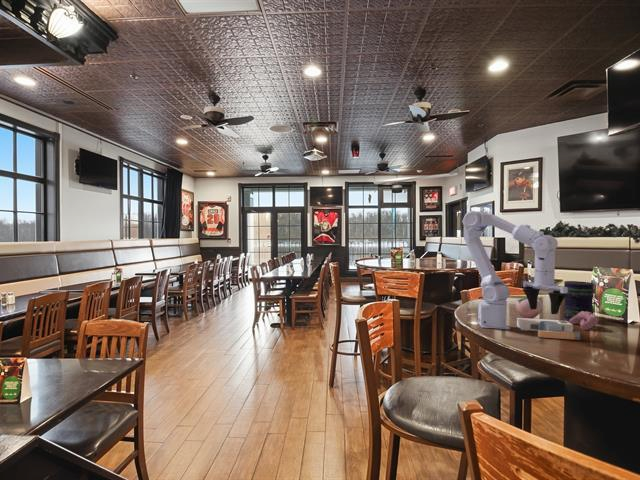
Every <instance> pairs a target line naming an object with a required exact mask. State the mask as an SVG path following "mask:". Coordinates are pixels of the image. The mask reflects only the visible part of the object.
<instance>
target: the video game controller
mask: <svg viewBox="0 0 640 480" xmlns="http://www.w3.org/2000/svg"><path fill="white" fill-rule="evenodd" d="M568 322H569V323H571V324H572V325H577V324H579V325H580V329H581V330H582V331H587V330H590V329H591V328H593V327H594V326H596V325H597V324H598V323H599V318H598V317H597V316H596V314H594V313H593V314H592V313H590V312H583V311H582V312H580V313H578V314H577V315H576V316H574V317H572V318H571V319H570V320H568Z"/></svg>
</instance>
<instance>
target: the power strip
mask: <svg viewBox="0 0 640 480" xmlns="http://www.w3.org/2000/svg"><path fill="white" fill-rule="evenodd" d="M540 321H554V322H557V323H558V324H559V325H561V326H562V332H571V333H573V331H574V324H571V323H570V322H569V321H568V320H557V319H546V318H545V319H542V318H533V319H528V318H524V317H517V318H516V327H518V329H520V330H521V331H529V330H530V332H531V331H533V332H538V330H540Z"/></svg>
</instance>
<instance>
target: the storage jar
mask: <svg viewBox="0 0 640 480" xmlns="http://www.w3.org/2000/svg"><path fill="white" fill-rule="evenodd" d="M563 284H564V285H563V287H568V292H567V293H566V294H567V296H566V297H565V298H564V301H563V302H564V304H563V320H565V321H570V319H571V318H572V317H574V316H576V315H577V314H578V313H580V312H582V311H583V312H590V313H592V314H594V307H593V302H594V301H593V298H594V297H595V295H594V292H595V291H594V283H593V282H588V281H577V280H566V281H564V282H563Z"/></svg>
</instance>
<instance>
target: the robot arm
mask: <svg viewBox="0 0 640 480" xmlns="http://www.w3.org/2000/svg"><path fill="white" fill-rule="evenodd" d="M461 222H462V224H463V240H464V242H465V245H466V247H467V248H468V251H469V252H470V253H469V254H470V256H471V258H472V260H473V262H474V265H475V267H476V269H477V272H478V273H479V276H480V278H481V282H480V287H481V295H482V296H481V297H482V298H483V300H484V301H479V302H478V307H477V308H478V309H477V311H478V313H477V319H478V320H477V323H478V325H479V326H480V327H481V328H482V329H483V328H487V329H500V330H510V329H511V327H509V326H508V324H507V319H508V318H507V315H508V314H507V313H508V312H507V310H508V304H507V303H508V301H507V299H508V298H510V295H511V291H510V290H511V289H510V288H509V286H508V285H506V284H505V283H504V281H503V279H502V278H501V277H500V276H499V275H498V274H497V273H496V270H495V268H494V266H493V263H492V262H491V259H490V257H489V255H488V253H487V250H486V248H485V246H484V244H483V242H482V240H481V235H482V234H483V232H485V230H486V229H487V228H488V227H489V226H490V227H492V226H493V227H495V228H497V229H499V230H502V231H504V232H506V233H509V234H511V235H512V238H513V239H514V240H515V241H517V242H518V243H519V242H520V244H521V243H522V244H523V245H526V246H527V247H530V248H532V249H533V251H534V274H533V275H534V277H533V279H534V280H533V281H527V280H526V281H524V280H523V282H522V287H523V289H522V290H523V291H522V292H523V293H524V295H525V296H526V298H527V299H528V301H529V305H530V309H536V308H537V298H538V299H539V293H540V291H541V290H542V291H548V297H549V301H550V314H552V315H558V313H559V311H560V308H561V305H562V303H563V302H564V301H565V297H566V296H567V294H566V293H567V292H568V287H564V285H557V284H555V276H556V275H555V273H556V269H555V268H556V267H555V266H556V264H555V263H556V258H555V257H556V253H555V251H556V249H557V248H558V245H559V244H558V240H557V239H556V237H554V236H553V235H551V234H546V235H545V234H544V233H545V232H544V231H538V230H536V229H534V228H531V225H529V224H520V225H515V224H513V223H512V222H509V221H508V220H506V219H503V218H501V217H500V216H498V215H495V214H493V213H488V212H487V211H476V210H470V211H468V212H466V213H465V215H464V217H463V219H462V221H461Z"/></svg>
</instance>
